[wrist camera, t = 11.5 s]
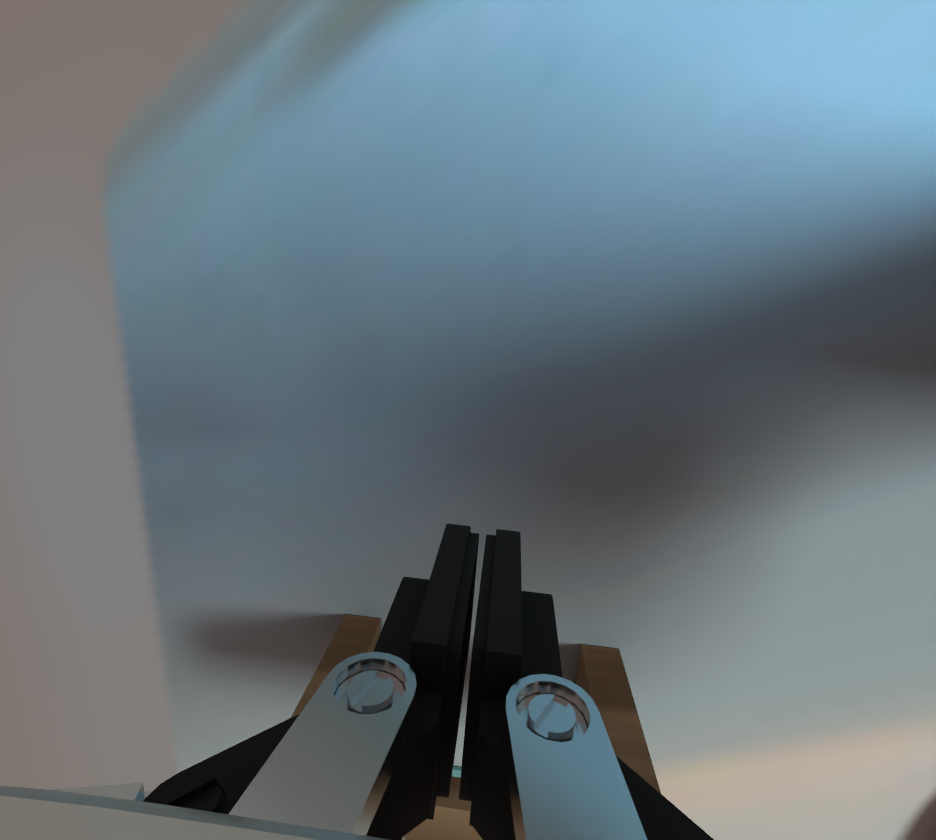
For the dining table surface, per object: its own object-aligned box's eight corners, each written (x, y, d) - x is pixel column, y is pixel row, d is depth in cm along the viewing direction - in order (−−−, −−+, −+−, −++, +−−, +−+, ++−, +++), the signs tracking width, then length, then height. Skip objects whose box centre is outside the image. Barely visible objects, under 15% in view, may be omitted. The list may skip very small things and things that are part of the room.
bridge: (346, 614, 28) (258, 778, 18) (618, 649, 26) (675, 842, 17) (345, 659, 28) (261, 839, 19) (610, 695, 27) (660, 905, 18)
